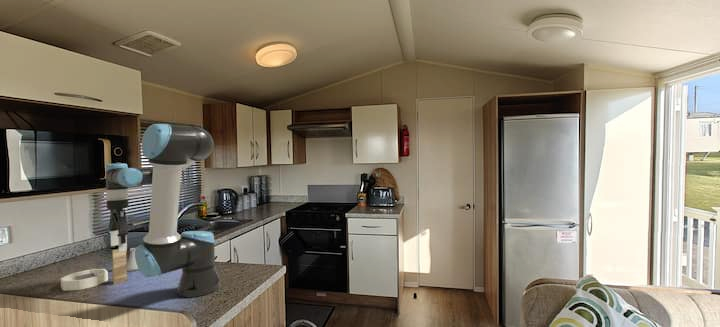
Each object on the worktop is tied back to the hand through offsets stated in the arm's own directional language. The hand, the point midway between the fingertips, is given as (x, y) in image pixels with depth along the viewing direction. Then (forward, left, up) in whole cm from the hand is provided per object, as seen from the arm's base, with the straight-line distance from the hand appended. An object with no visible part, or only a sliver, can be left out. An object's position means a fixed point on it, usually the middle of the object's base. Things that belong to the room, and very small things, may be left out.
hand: (118, 248), depth 138 cm
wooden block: (0, 0, -15) cm, 15 cm away
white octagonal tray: (+10, +10, -15) cm, 20 cm away
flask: (+16, -9, -15) cm, 23 cm away
